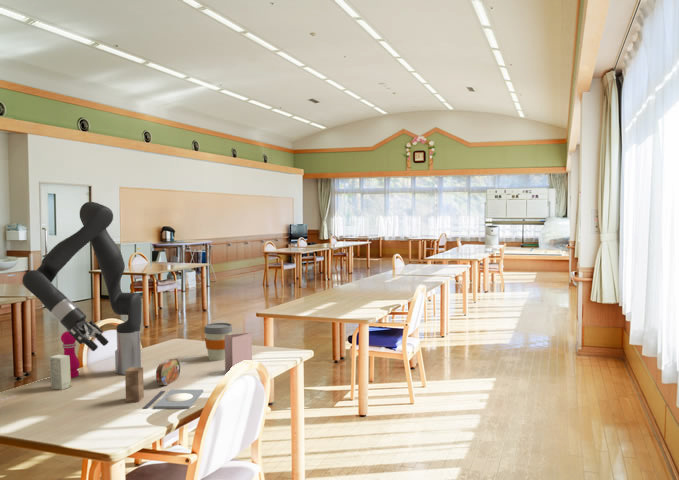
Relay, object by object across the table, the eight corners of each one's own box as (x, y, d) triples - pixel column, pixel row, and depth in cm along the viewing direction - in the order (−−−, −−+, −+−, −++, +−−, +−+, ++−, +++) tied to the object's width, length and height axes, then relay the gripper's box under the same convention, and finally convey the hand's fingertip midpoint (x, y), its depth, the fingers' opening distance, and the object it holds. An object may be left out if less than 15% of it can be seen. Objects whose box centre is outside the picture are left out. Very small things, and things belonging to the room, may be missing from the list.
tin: (162, 388, 211) (161, 366, 211) (154, 387, 212) (154, 365, 211) (181, 377, 226) (180, 356, 225) (174, 376, 226) (173, 356, 226)
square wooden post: (125, 401, 196) (125, 370, 195) (131, 397, 200) (130, 367, 200) (138, 402, 196) (138, 371, 195) (143, 397, 200) (143, 367, 200)
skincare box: (71, 386, 213) (70, 355, 213) (61, 390, 209) (60, 358, 209) (60, 384, 216) (59, 353, 215) (49, 388, 212) (48, 356, 211)
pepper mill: (60, 379, 223) (59, 330, 222) (60, 375, 229) (58, 326, 228) (80, 377, 226) (79, 328, 225) (79, 372, 233) (78, 325, 232)
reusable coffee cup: (229, 361, 249) (228, 328, 248) (201, 361, 249) (200, 328, 249) (235, 354, 262) (234, 322, 261) (208, 354, 262) (207, 322, 261)
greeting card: (251, 367, 240) (251, 332, 239) (255, 371, 233) (254, 335, 232) (224, 369, 236) (224, 334, 235) (227, 374, 229) (227, 338, 228)
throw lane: (142, 408, 189) (142, 405, 189) (161, 391, 207) (161, 389, 207) (189, 408, 188) (189, 405, 188) (203, 391, 206) (203, 389, 206)
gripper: (65, 310, 190) (99, 343, 190) (85, 304, 204) (117, 335, 204) (50, 325, 190) (84, 358, 190) (71, 318, 204) (102, 349, 204)
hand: (101, 346), depth 197 cm, fingers open, 8 cm apart
